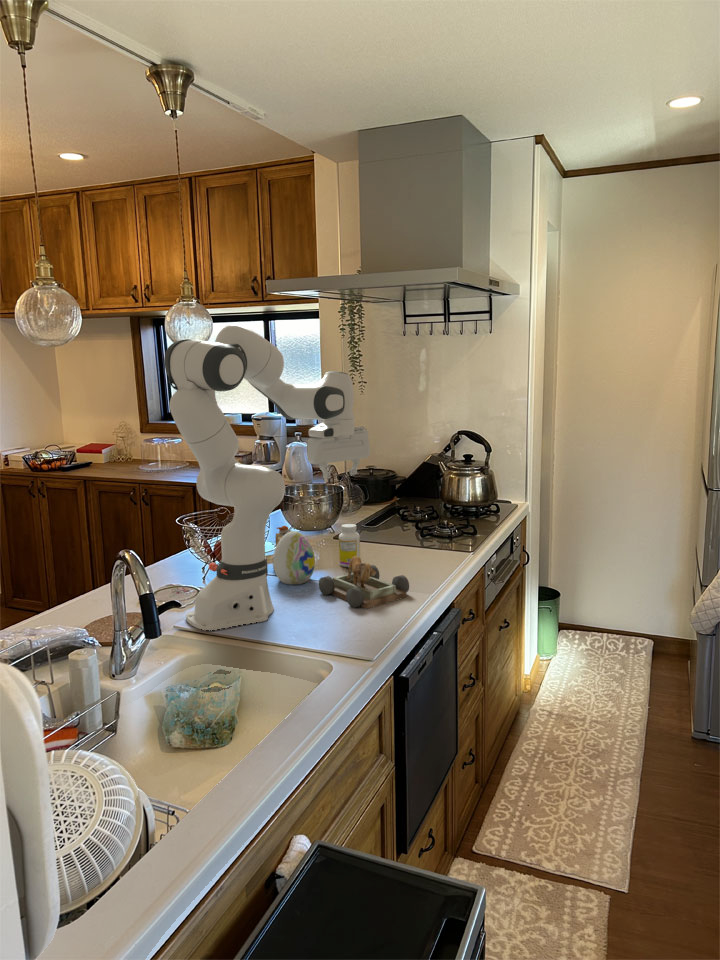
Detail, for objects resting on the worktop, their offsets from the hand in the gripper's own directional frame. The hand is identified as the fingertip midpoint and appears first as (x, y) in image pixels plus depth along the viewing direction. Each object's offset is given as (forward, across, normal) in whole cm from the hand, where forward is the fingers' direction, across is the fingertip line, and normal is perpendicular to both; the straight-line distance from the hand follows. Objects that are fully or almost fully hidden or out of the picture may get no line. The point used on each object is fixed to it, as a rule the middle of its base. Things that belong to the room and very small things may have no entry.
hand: (340, 476), depth 208 cm
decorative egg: (+31, +11, -9) cm, 34 cm away
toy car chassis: (+31, +3, +14) cm, 34 cm away
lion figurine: (+29, +3, +11) cm, 31 cm away
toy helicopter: (+31, +5, -25) cm, 40 cm away
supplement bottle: (+31, -11, -11) cm, 35 cm away
